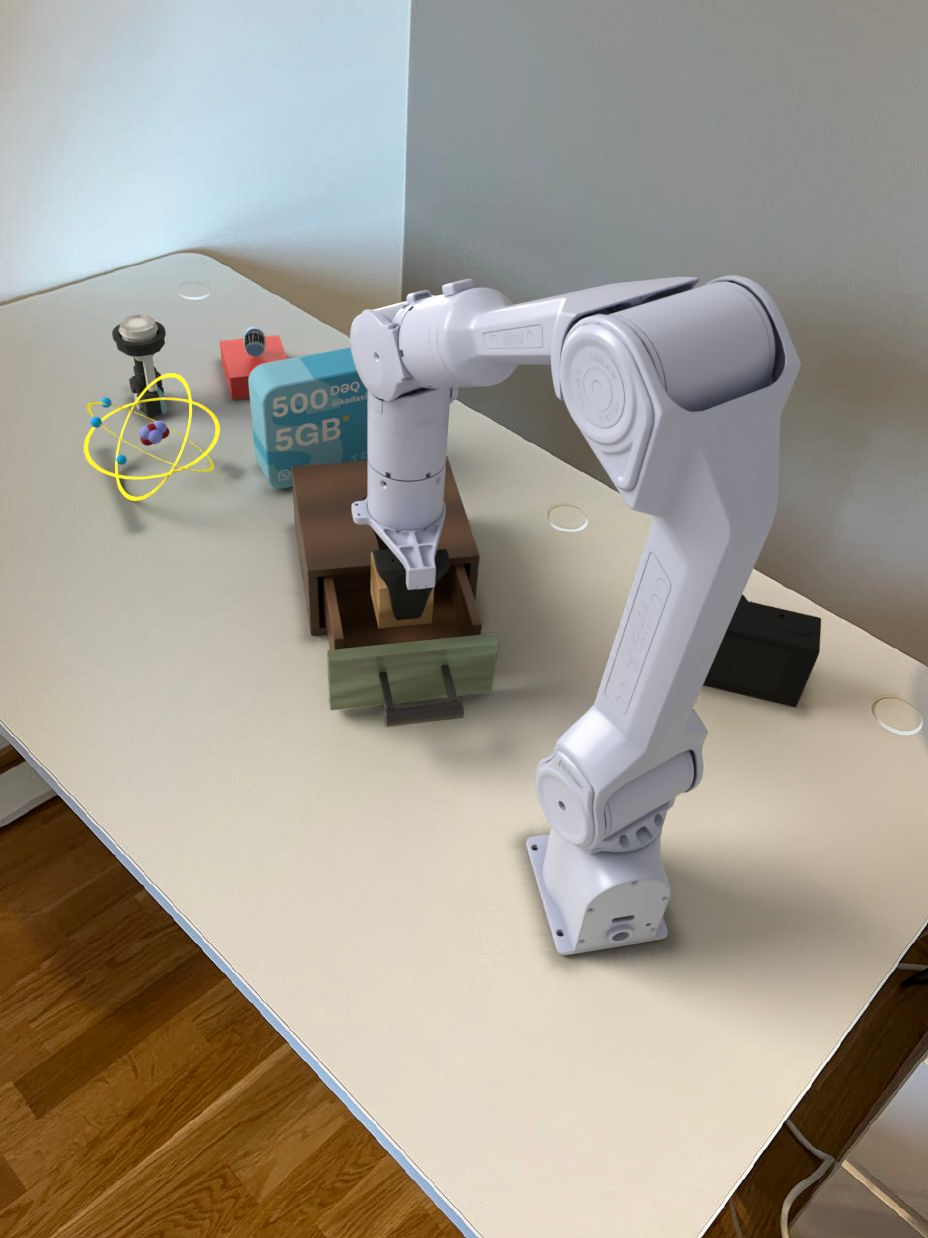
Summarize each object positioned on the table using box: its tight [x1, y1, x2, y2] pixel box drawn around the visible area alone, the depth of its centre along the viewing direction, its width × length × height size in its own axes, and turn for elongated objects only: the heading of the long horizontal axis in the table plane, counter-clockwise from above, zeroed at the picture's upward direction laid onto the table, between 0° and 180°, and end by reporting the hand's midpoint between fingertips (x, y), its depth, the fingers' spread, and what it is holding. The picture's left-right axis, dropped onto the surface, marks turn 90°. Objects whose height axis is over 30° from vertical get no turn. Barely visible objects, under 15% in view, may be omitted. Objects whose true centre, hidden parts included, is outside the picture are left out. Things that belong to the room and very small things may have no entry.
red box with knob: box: [219, 326, 288, 401], centre depth 120 cm, size 8×7×6 cm
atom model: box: [83, 372, 221, 502], centre depth 104 cm, size 14×15×14 cm
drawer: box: [320, 564, 498, 728], centre depth 88 cm, size 19×13×6 cm
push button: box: [111, 314, 167, 419], centre depth 114 cm, size 7×5×10 cm
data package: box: [248, 346, 368, 490], centre depth 107 cm, size 12×4×12 cm, turn 116°
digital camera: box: [703, 594, 822, 708], centre depth 91 cm, size 10×5×7 cm, turn 74°
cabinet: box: [291, 454, 481, 636], centre depth 97 cm, size 15×15×8 cm
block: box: [371, 552, 434, 629], centre depth 86 cm, size 4×4×4 cm
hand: (402, 594), depth 87 cm, fingers closed on block, 4 cm apart
